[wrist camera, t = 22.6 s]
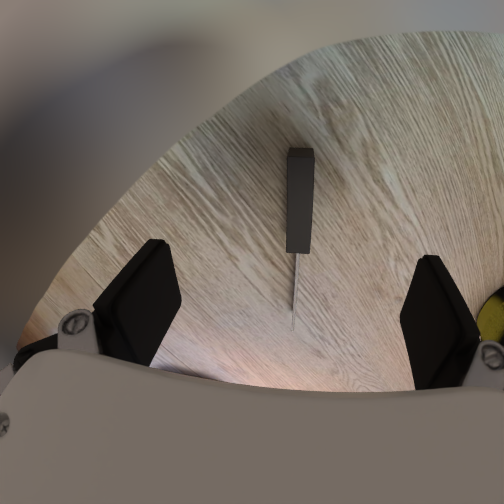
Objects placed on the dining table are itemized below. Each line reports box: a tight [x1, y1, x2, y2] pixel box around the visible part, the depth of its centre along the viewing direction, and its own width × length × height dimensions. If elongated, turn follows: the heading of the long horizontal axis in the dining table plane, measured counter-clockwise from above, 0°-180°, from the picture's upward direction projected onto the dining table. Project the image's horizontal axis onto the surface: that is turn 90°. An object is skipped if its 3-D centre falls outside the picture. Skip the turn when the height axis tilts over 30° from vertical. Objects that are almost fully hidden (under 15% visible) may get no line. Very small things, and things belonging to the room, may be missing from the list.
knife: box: [286, 148, 315, 331], centre depth 28 cm, size 20×2×4 cm, turn 3°
